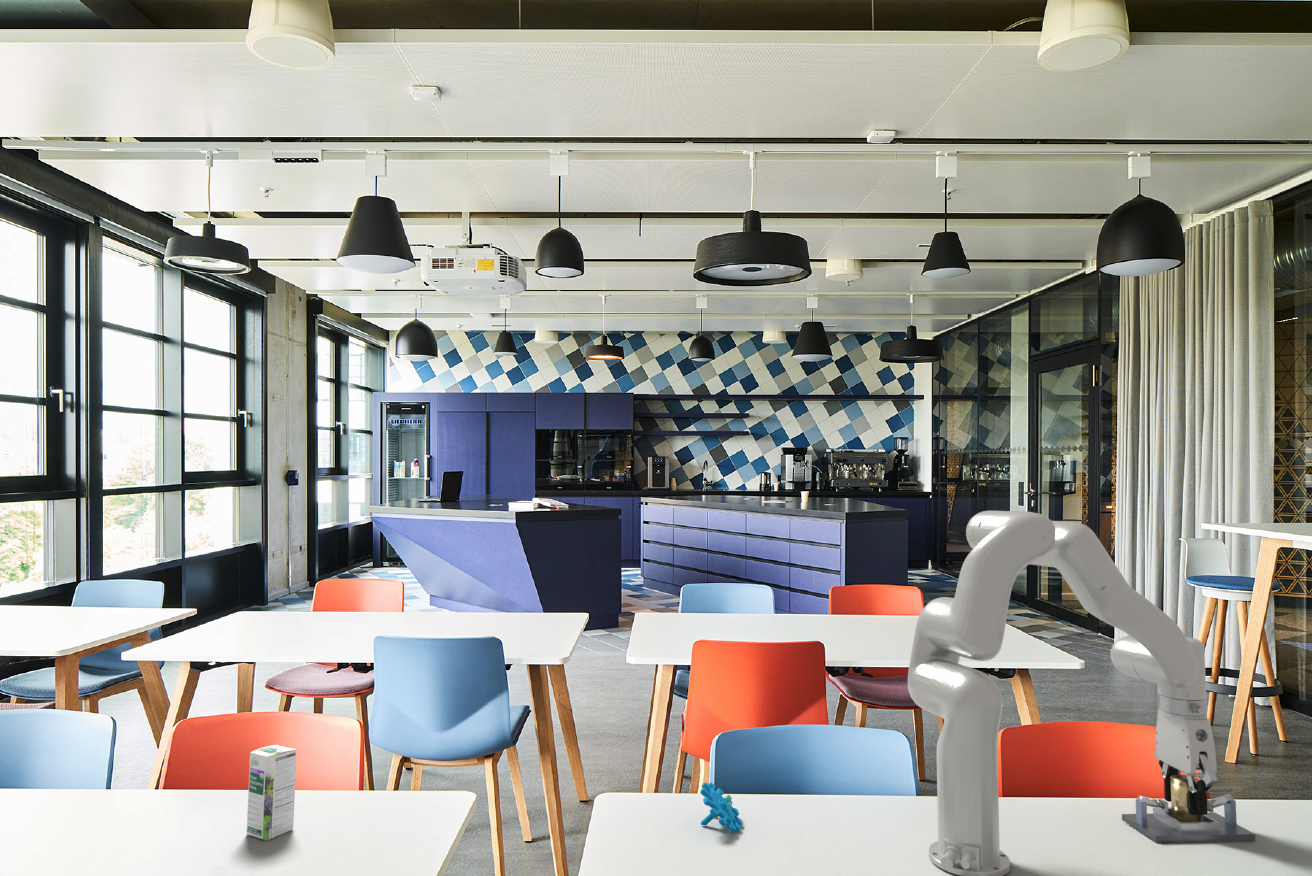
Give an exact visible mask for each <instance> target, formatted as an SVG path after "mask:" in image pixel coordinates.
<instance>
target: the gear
mask: <svg viewBox="0 0 1312 876" xmlns="http://www.w3.org/2000/svg"><path fill="white" fill-rule="evenodd" d="M715 789H716V785H715V784H714V783H713V782H709V783H708V782H704V783H702V784H701V789H700V791H699V793H700V795H702V796H703V797H704V798H703V799H702V801H703V804H704V805H705V806H707V807H709V808H711V809H710V810H709V813H708V814H707V816H705V817H704V818H703V819H702V820H701V821H700V825H701V826H702V825H706V826H707V825H708V824H709V823H710V822H711V821H712V820H714V819H715V818H720V819H719V820H718V824H719V825H720V826H722V827H723V828H724V827H726V826H727V829H728V831H729V832H731V833H732V834H733V833H734V832H736V833H739V832H740V831H741V830H742V829H743V828H742V826H741V825H742V824H743V821H742V819H741V818H740V817H738V816H739V815H740V812H739V810H738V808H735V807H733V801H732V796H731V795H730V794H727V795H726V796H725V797H723V795H724V793H725V792H724V791H723V789H721V787H718V788H717V789H716V790H715ZM714 817H715V818H714ZM739 830H740V831H739ZM738 831H739V832H738Z"/></svg>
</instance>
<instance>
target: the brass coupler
mask: <svg viewBox="0 0 1312 876" xmlns="http://www.w3.org/2000/svg"><path fill="white" fill-rule="evenodd" d="M1170 779H1171V803H1170V804H1171V807H1172V817H1173V818H1174V819H1176V820H1178V821H1180V822H1201V815H1191V814H1189V813H1188V797H1187V791H1190V787H1189V783H1188V779H1187V775H1186V774H1180V775H1179V774H1175V775H1171V776H1170ZM1194 779H1195V783H1197V782H1198V781H1199V780H1200V779H1199V778H1198V777H1194Z"/></svg>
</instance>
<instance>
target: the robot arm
mask: <svg viewBox="0 0 1312 876" xmlns="http://www.w3.org/2000/svg"><path fill="white" fill-rule="evenodd" d="M965 528H966V529H965V536H966V540H967V542H968V545H969V546H970V548H971V550H970V552H969V553H968V554H967V556H966V557H965V559H964V561H963V563H962V566H961V569H960V572H959V575H958V579H957V584H956V590H955V594H954V597H947V596H941V597H938V598H933V599H932V600H931V601H929V602H928V603H927V604H925V606H924V607H923V609H922V610H921V612H920V613H919V616H918V618H917V621H916V626H915V629H914V630H915V631H914V636H913V642H912V648H911V653H910V660H909V666H908V671H907V672H908V673H907V690H908V693H909V695H910V698H911V699H912V701H913V702H914V704H915V705H917V706H918V707H919V708H921V709H923V710H925V711H926V712H928V713H930V714H932V715H935V716H937V717H940V718H941V719H943V726H942V729H941V731H940V733H939V736H938V740H937V742H936V743H937V744H936V788H937V789H936V790H937V791H936V792H937V793H936V794H937V796H936V797H937V799H936V800H937V841H935V842H933V843H932V844H930V846H929V848H928V857H929V859H930V861H931V862H932V863H933V864H934V865H935V866H937V867H938V868H939V869H941V870H944V871H945V872H947V873H951V874H953V875H957V876H1005V875H1007V874H1008V873H1009V872H1010V870H1011V859H1010V858H1009V856H1008V855H1007V854H1006V853H1005V852H1004V851H1002V850H1001V847H1000V812H999V811H1000V809H999V807H1000V806H999V804H1000V803H999V768H998V763H999V762H998V745H999V744H998V741H999V739H998V738H999V733H1000V732H999V731H1000V725H1001V719H1002V715H1003V714H1002V713H1003V708H1004V707H1003V705H1004V701H1003V696H1002V692H1001V689H1000V687H999V685H998V684H997V683H996V682H995V681H994V680H993V678H991V677H990V676H989V675H988V674H986V673H984V672H983V671H980V670H977V669H976V668H972V667H969V666H967V665H963V664H960V663H959V662H960V659H961V658H965V659H968V660H973V661H977V662H979V661H980V662H987V661H990V660H992V659H994V658H996V656H997V655H999V652H1000V651H1001V649H1002V645H1003V640H1004V636H1005V629H1006V622H1007V617H1008V612H1009V606H1010V605H1009V604H1010V599H1011V596H1012V595H1011V593H1012V591H1013V586H1014V583H1015V581H1016V579H1017V577H1018V576H1019V574H1021V573H1022V571H1023V570H1025V568H1026V567H1027V566H1029V565H1032V566H1041V567H1047V568H1048V567H1049V568H1054V569H1056V570H1057V571H1058V572H1059V573H1060V575H1061V576H1062V578H1063V579H1064V580H1065V582H1066V583H1067V585H1068V586H1069V588H1070V590H1071V591H1072V592H1073V594H1074V596H1075V597H1076V599H1077V600H1078V602H1079V603H1080V605H1081V606H1082V608H1083V609H1084V610H1085V611H1086V612H1087V613H1088V614H1091V615H1092V616H1094V617H1095V618H1097V619H1098V620H1100V621H1102V622H1104V623H1106V624H1108V625H1110V626H1111V627H1113V628H1116V629H1118V630H1119V631H1121V632H1124V633H1125V634H1127V636H1123V637H1120V638H1119V639H1118V640H1116V641H1115V642H1114V643H1113V644H1112V646H1111V649H1110V659H1111V663H1112V665H1113V666H1114V667H1115V668H1116V670H1118V671H1119V672H1120V673H1122V674H1124V675H1127V676H1129V677H1132V678H1136V679H1139V680H1142V681H1146V682H1147V681H1149V682H1152V683H1156V684H1157V685H1156V686H1157V689H1156V690H1157V716H1156V725H1155V726H1156V728H1155V729H1156V732H1155V743H1156V748H1155V749H1154V751H1153V753H1154V756H1155V758H1156V760H1157V762H1158V765H1159V767H1160V769H1161V776H1162V778H1163V791H1164V793H1163V794H1164V801H1166V802H1168V803H1169V802H1171V779H1170V776H1171V775H1175V774H1179V775H1181V773H1184V774H1185V775H1187V779H1188V783H1189V787H1190V791H1187V797H1188V813H1189V814H1191V815H1207V813H1209V811H1207V799H1208V793H1210V789H1211V788H1212V787H1213V785H1215V784H1216V783H1217V782H1218V777H1217V776H1216V775H1217V760H1216V759H1217V758H1216V757H1217V756H1216V747H1215V739H1214V732H1213V728H1212V724H1211V721H1210V719H1209V718H1208V711H1207V710H1208V707H1207V686H1206V685H1207V684H1206V679H1207V677H1206V661H1205V660H1206V657H1205V656H1206V655H1205V654H1206V653H1205V647H1204V644H1203V642H1202V641H1201V640H1199V639H1197V638H1193V637H1190V636H1186V635H1185V634H1184V633H1183V630H1182V629H1181V628H1180V627H1179V625H1178V624H1177V623H1176V622H1175V621H1174V620H1173V619H1172V618H1171V617H1170V616H1169V615H1168V614H1167V613H1165V612H1164V611H1163V610H1161V609H1160V608H1159V607H1158V606H1156V605H1155V604H1154V603H1153V602H1151V601H1150V600H1149V599H1147V598H1146V597H1145V596H1144V595H1142V594H1141V593H1139V592H1138V591H1137V590H1135V589H1134V588H1132V586H1130V585H1129V583H1128V582H1127V580H1126V578H1125V577H1124V575H1123V574H1122V573H1121V571H1120V570H1119V568H1118V567H1117V565H1116V563H1115V562H1114V561H1113V559H1112V557H1111V556H1110V555H1109V552H1108V551H1107V550H1106V548H1105V547H1104V545H1103V544H1102V542H1101V541H1100V539H1099V537H1098V536H1097V534H1096V533H1095V532H1094V530H1092V528H1090V527H1089V526H1088V525H1086V524H1083V523H1079V522H1076V521H1065V520H1051V519H1050V518H1049V517H1048V516H1046V515H1044V514H1041V513H1037V512H1031V511H1023V510H1021V511H1020V510H1019V511H1018V510H1008V511H1007V510H983V511H980V512H978V513H976V514H975V515H973V516H972V517H971V518H970V519H969V521H968V523H967V525H966V527H965ZM1196 771H1197V772H1196ZM1194 778H1198V780H1199V781H1198V782H1197V783H1195V779H1194Z"/></svg>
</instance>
